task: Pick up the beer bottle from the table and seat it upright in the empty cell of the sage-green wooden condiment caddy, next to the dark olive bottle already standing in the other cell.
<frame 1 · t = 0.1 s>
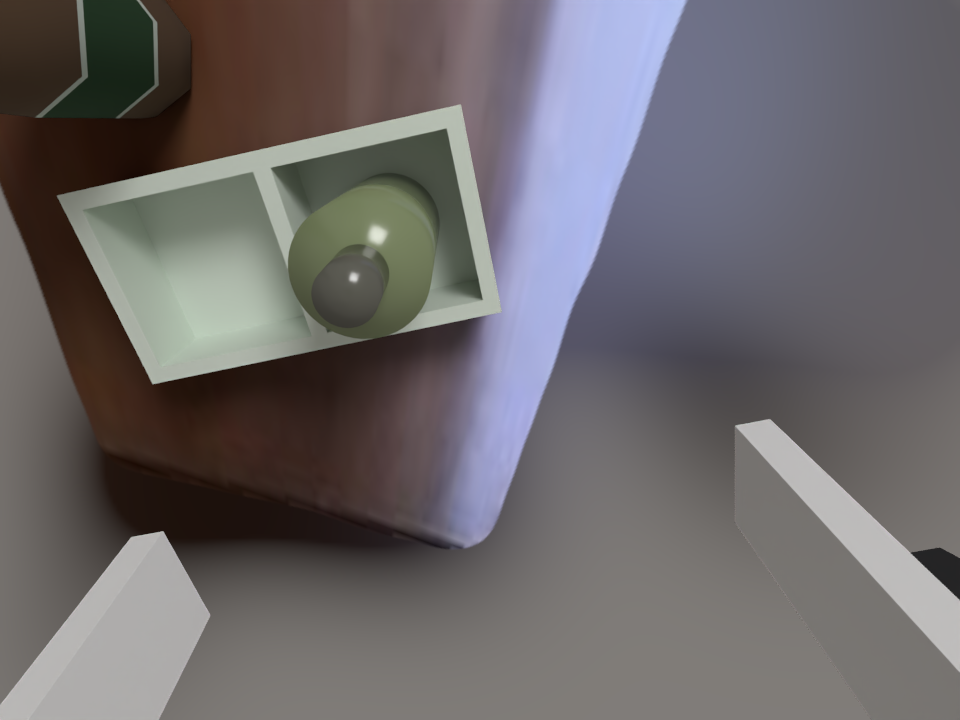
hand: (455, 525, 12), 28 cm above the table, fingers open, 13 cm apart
beer bottle: (134, 48, 32), on the table
caddy: (315, 237, 37), on the table
olive bottle: (392, 223, 36), point 1 cm above the table, touching caddy
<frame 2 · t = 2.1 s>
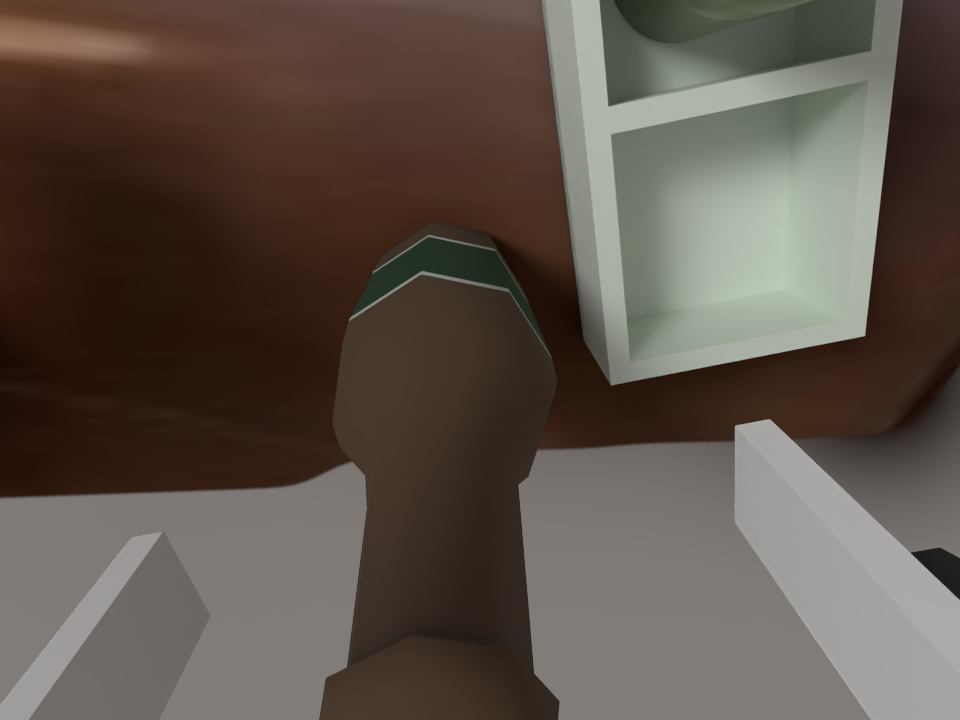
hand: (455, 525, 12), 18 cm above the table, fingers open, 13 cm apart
beer bottle: (446, 288, 29), on the table
caddy: (679, 98, 26), on the table
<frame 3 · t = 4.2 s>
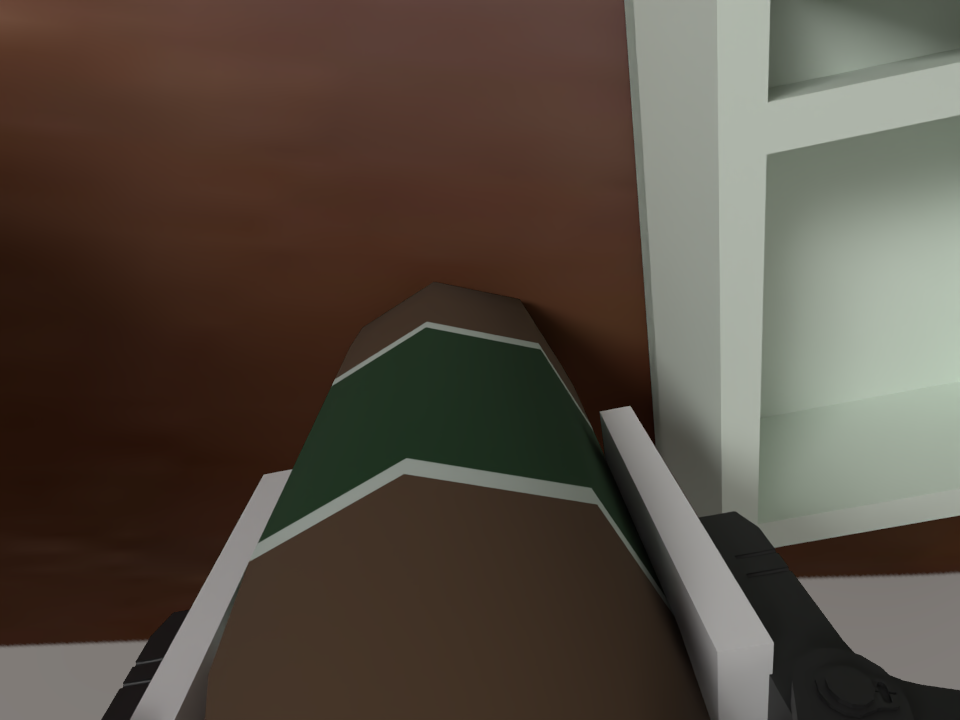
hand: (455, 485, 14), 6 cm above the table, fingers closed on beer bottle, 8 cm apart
beer bottle: (456, 376, 20), on the table, touching gripper
caddy: (832, 91, 16), on the table
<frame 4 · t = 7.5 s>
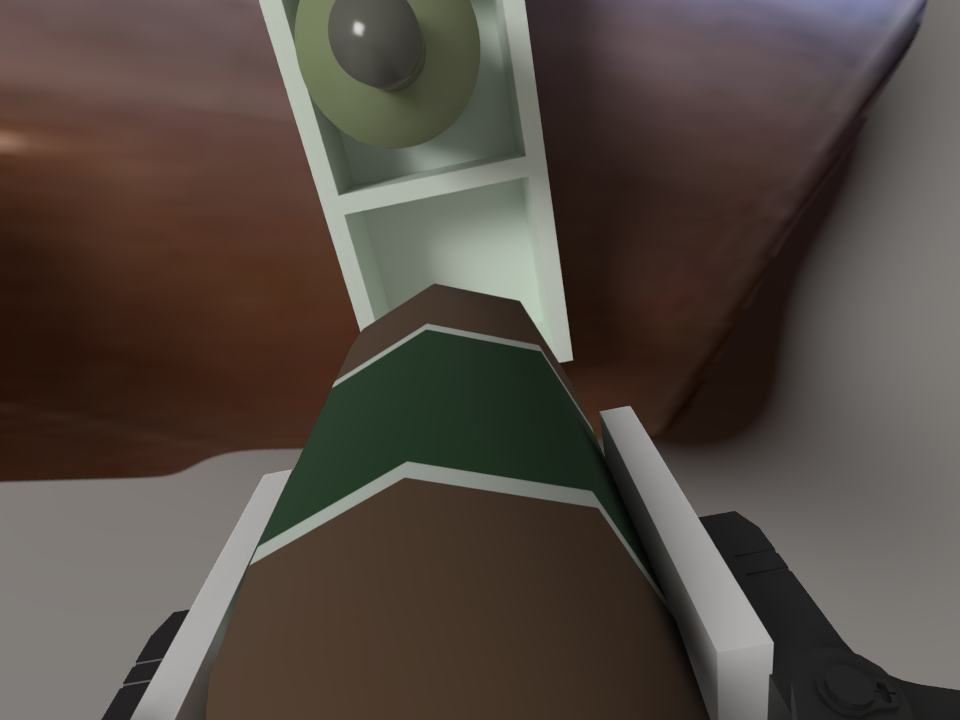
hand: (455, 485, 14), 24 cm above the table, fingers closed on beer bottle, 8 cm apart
beer bottle: (456, 377, 20), point 18 cm above the table, touching gripper
caddy: (437, 175, 34), on the table
olive bottle: (415, 76, 31), point 1 cm above the table, touching caddy
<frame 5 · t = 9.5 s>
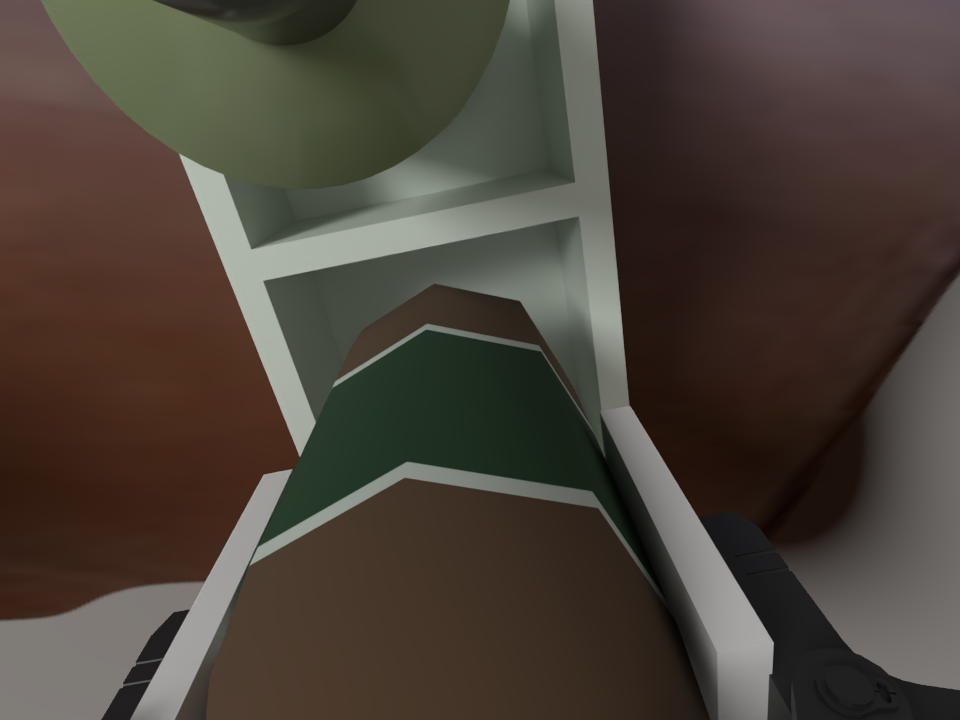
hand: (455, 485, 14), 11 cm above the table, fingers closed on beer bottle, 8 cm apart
beer bottle: (456, 377, 20), point 5 cm above the table, touching gripper
caddy: (424, 205, 22), on the table
olive bottle: (387, 49, 19), point 1 cm above the table, touching caddy
when the fingers open (9 cm above the table, at t = 11.0 s): beer bottle drops 2 cm, resting on caddy.
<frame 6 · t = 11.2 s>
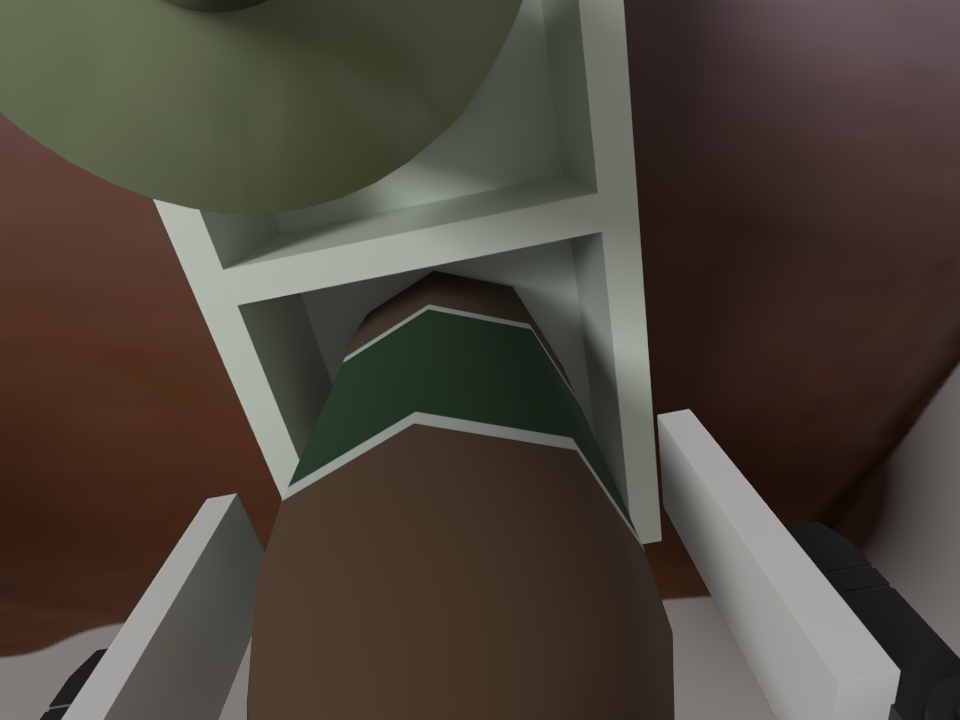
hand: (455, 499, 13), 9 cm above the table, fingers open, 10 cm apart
beer bottle: (454, 359, 21), point 1 cm above the table, touching caddy
caddy: (424, 215, 20), on the table
olive bottle: (381, 40, 17), point 1 cm above the table, touching caddy
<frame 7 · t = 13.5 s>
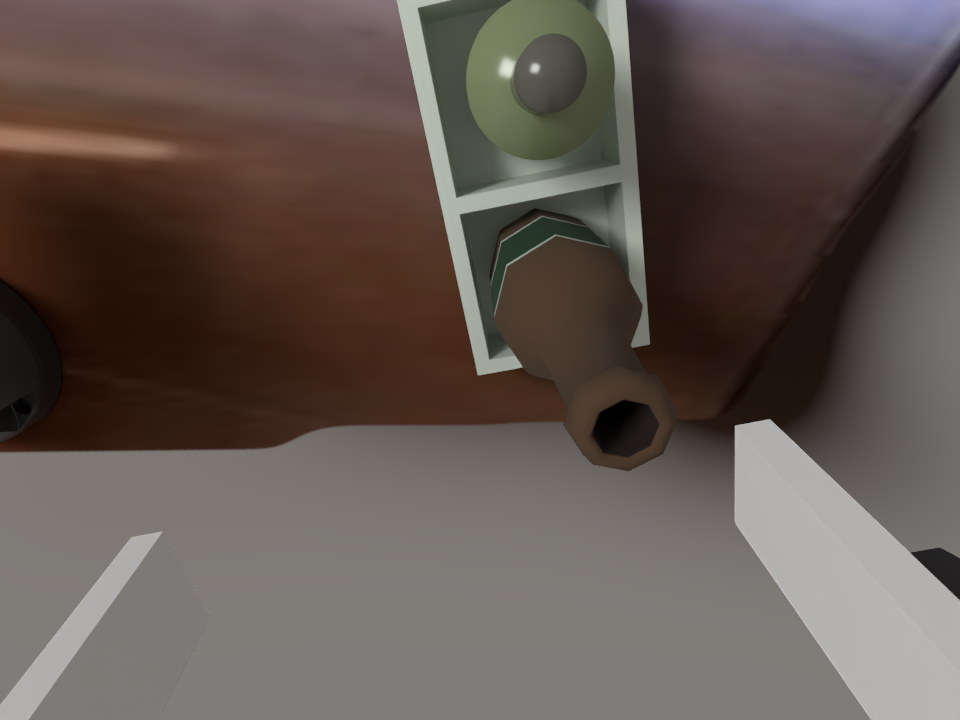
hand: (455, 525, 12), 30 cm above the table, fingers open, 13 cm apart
beer bottle: (540, 258, 40), point 1 cm above the table, touching caddy
caddy: (529, 180, 38), on the table
olive bottle: (517, 94, 35), point 1 cm above the table, touching caddy
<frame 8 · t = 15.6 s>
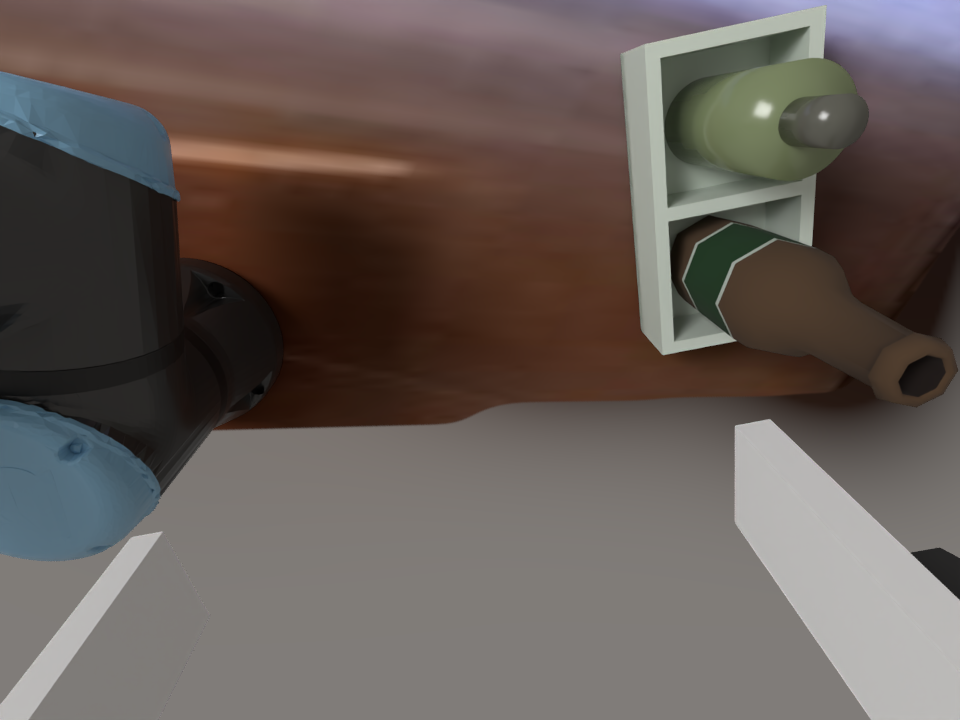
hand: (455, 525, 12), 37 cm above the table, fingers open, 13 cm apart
beer bottle: (705, 257, 47), point 1 cm above the table, touching caddy
caddy: (702, 192, 45), on the table
olive bottle: (704, 122, 42), point 1 cm above the table, touching caddy
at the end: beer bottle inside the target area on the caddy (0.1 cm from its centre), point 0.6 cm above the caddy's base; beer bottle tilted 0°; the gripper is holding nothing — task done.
